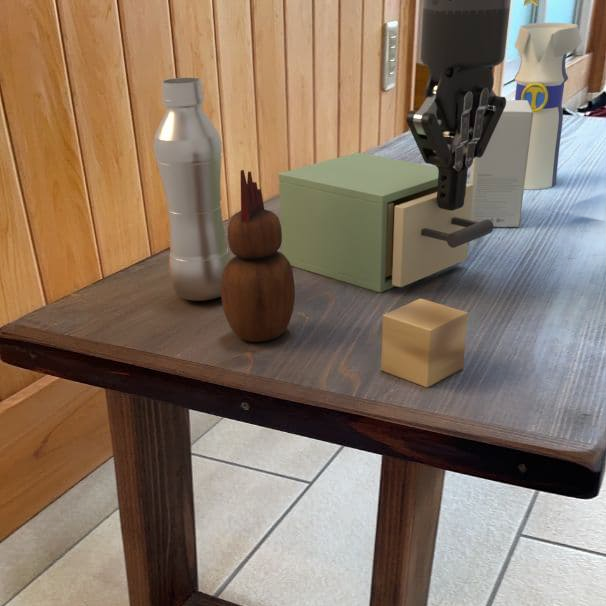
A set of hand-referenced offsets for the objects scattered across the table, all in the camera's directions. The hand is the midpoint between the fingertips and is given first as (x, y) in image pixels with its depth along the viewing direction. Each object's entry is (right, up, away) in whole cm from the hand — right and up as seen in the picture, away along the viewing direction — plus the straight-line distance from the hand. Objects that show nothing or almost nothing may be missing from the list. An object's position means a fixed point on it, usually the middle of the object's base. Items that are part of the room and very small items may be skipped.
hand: (450, 207), depth 85 cm
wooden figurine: (-19, -14, -5) cm, 24 cm away
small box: (+9, +8, +24) cm, 27 cm away
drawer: (-4, -3, +8) cm, 9 cm away
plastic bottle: (-25, -8, +4) cm, 27 cm away
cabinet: (-7, -2, +11) cm, 14 cm away
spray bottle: (+18, +18, +37) cm, 45 cm away
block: (-4, -18, -12) cm, 22 cm away
